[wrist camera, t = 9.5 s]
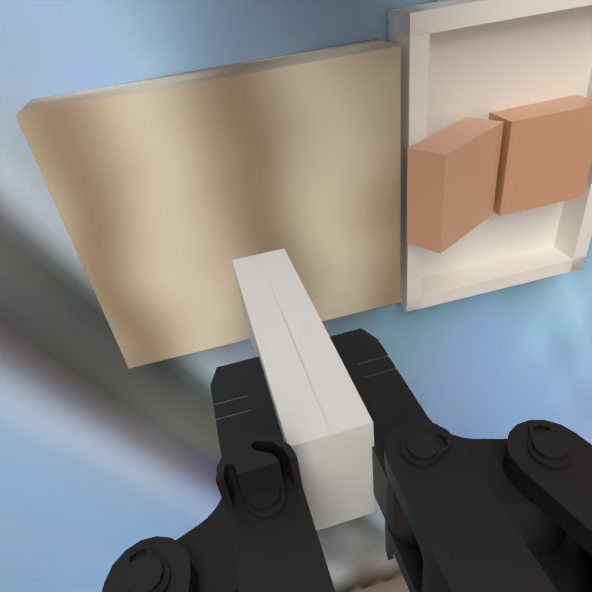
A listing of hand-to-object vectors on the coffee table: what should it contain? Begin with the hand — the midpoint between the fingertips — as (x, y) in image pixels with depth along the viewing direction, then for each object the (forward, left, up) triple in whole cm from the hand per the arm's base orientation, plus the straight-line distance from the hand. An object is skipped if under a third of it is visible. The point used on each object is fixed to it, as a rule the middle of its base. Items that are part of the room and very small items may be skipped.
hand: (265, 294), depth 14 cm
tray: (+13, -1, -10) cm, 16 cm away
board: (0, -1, -10) cm, 10 cm away
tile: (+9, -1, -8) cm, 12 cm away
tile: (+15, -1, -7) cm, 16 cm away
